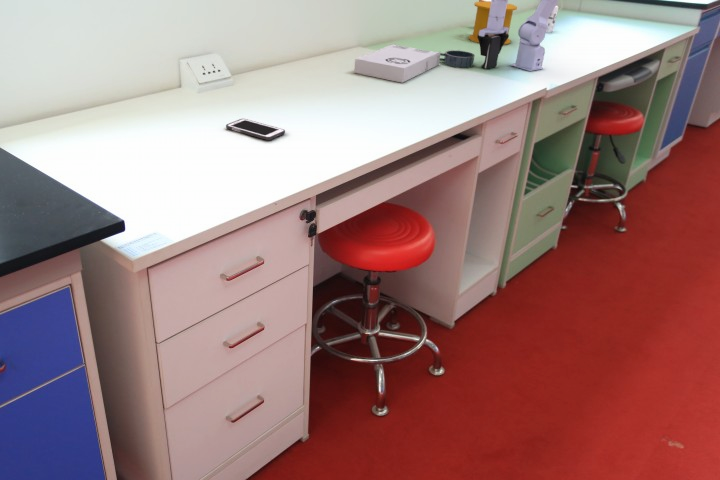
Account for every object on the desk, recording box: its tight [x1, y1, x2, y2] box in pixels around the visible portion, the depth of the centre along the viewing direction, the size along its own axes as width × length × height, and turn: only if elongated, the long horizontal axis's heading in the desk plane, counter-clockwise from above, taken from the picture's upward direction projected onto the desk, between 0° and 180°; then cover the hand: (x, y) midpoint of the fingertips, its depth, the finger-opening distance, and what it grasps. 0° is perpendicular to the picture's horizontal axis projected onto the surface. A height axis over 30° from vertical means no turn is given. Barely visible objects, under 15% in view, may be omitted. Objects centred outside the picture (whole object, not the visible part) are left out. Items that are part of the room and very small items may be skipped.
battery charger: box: [481, 35, 501, 70], centre depth 252 cm, size 7×4×11 cm, turn 136°
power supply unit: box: [353, 43, 442, 84], centre depth 244 cm, size 19×33×5 cm, turn 149°
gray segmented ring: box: [439, 49, 476, 69], centre depth 256 cm, size 14×11×4 cm
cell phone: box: [225, 118, 286, 141], centre depth 180 cm, size 8×15×1 cm, turn 57°
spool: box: [468, 1, 518, 46], centre depth 294 cm, size 18×18×15 cm
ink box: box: [537, 4, 560, 34], centre depth 321 cm, size 9×5×12 cm, turn 48°
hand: (489, 54), depth 253 cm, fingers open, 7 cm apart
